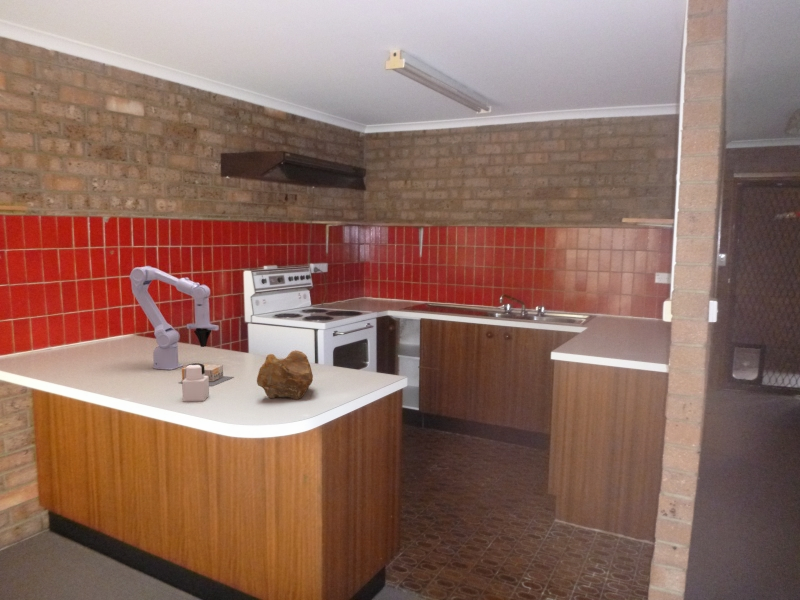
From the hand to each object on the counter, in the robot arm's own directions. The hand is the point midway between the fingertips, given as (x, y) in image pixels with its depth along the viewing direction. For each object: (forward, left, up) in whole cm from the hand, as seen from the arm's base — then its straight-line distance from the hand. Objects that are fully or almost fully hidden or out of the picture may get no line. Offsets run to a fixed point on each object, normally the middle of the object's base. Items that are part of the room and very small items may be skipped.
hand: (203, 346), depth 245 cm
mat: (+14, -17, -9) cm, 24 cm away
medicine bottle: (+26, -39, -9) cm, 48 cm away
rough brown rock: (+55, -25, -10) cm, 61 cm away
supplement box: (+5, -17, -7) cm, 19 cm away
